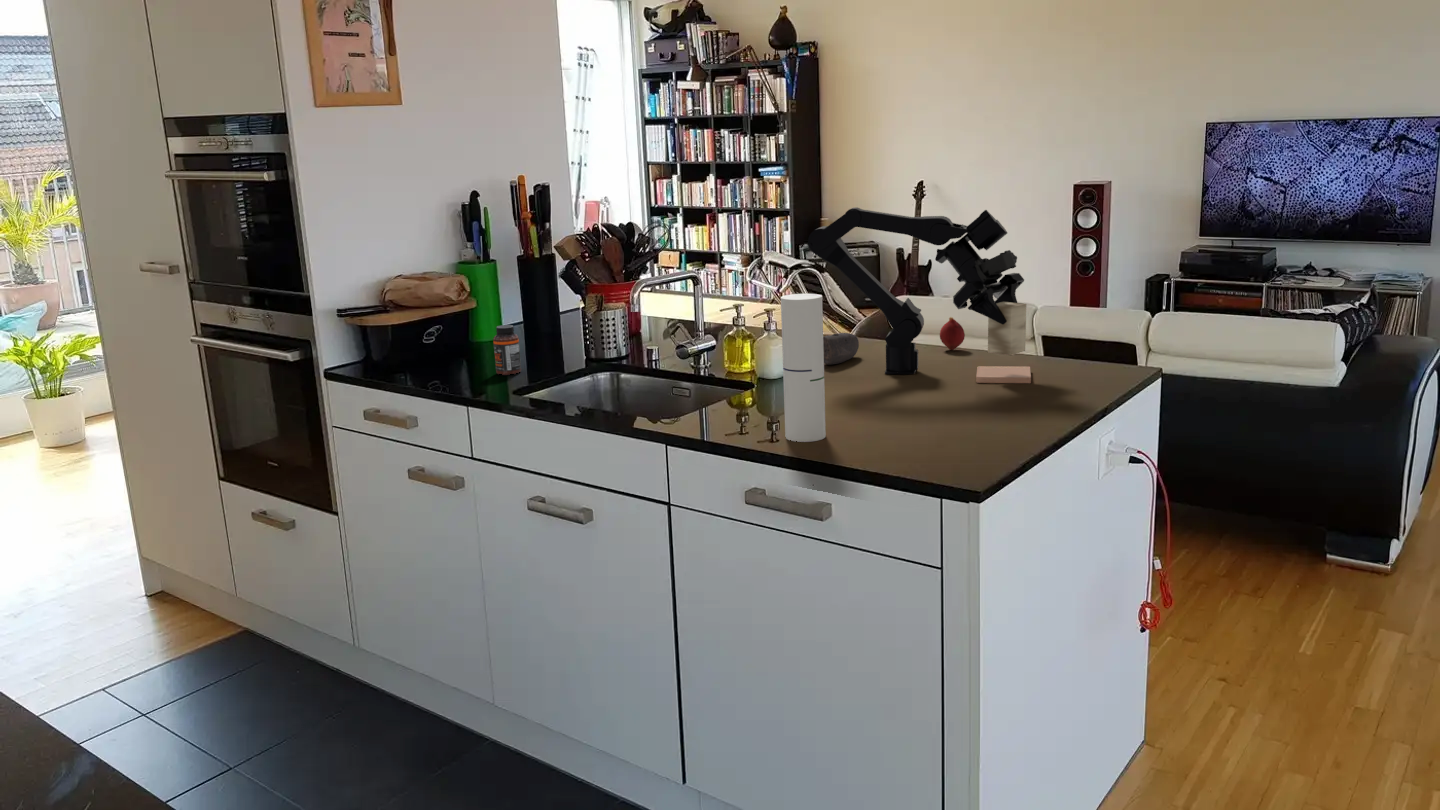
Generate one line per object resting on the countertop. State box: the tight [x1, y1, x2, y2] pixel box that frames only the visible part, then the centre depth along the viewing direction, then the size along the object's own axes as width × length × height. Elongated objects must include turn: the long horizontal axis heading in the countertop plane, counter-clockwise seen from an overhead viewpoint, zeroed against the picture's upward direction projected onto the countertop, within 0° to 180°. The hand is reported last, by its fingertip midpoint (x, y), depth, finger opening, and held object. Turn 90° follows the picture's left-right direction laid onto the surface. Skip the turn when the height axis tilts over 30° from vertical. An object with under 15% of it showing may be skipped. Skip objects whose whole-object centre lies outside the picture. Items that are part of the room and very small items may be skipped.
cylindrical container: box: [780, 293, 826, 443], centre depth 196 cm, size 7×7×25 cm
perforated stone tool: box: [823, 332, 860, 366], centre depth 261 cm, size 15×5×7 cm, turn 140°
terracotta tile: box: [975, 365, 1032, 384], centre depth 238 cm, size 11×11×1 cm
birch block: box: [987, 302, 1027, 356], centre depth 234 cm, size 6×6×10 cm
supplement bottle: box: [492, 324, 522, 376], centre depth 266 cm, size 6×6×11 cm
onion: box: [939, 316, 966, 351], centre depth 268 cm, size 6×6×8 cm
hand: (1012, 321), depth 233 cm, fingers closed on birch block, 5 cm apart
